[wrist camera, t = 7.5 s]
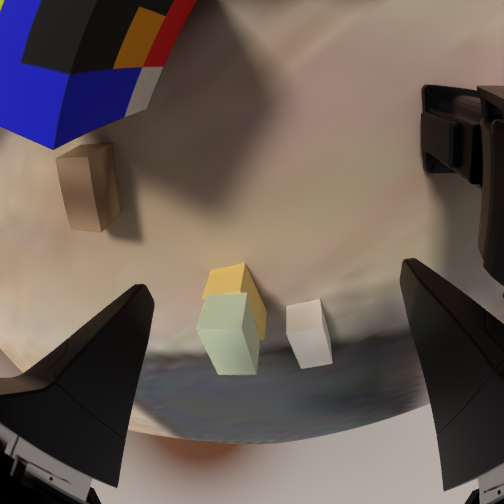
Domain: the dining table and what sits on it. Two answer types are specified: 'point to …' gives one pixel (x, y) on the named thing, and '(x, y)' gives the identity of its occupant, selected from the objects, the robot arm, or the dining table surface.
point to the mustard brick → (238, 291)
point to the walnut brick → (89, 186)
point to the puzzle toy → (81, 62)
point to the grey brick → (308, 334)
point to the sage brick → (229, 333)
